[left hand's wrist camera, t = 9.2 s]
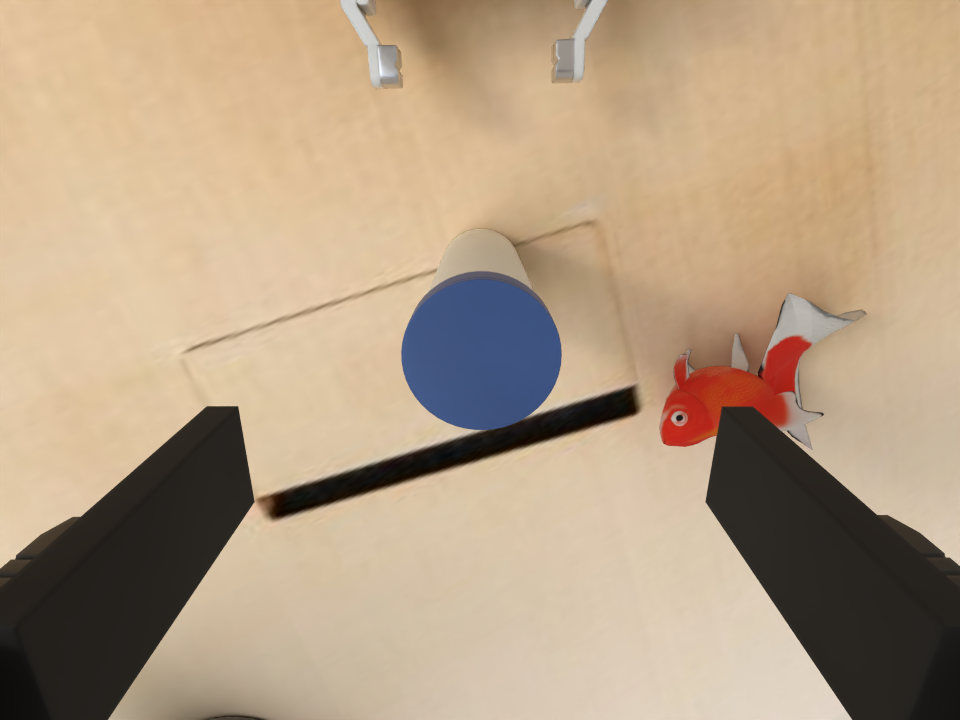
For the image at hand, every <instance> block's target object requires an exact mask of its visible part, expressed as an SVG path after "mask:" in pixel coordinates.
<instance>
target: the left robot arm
mask: <svg viewBox="0 0 960 720" xmlns="http://www.w3.org/2000/svg"><path fill="white" fill-rule="evenodd" d="M253 503H254V496H253V490H252V485H251V479H250V473H249V467H248V461H247V455H246V450H245V444H244V438H243V432H242V426H241V420H240V415H239V409H238V406H207V407H206V408H204V409H203V410H202V411H201V412H200V413H199V414H198V415H196V416H195V417H194V418H193V419H192V420H191V421H190V422H189V423H187V424H186V425H185V426H184V427H183V428H182V429H181V430H179V431H178V432H177V433H176V434H175V435H174V436H173V437H171V438H170V439H169V440H168V441H167V442H166V443H165V444H163V445H162V446H161V447H160V448H159V449H158V450H157V451H155V452H154V453H153V454H152V455H151V456H150V457H149V458H147V459H146V460H145V461H144V462H143V463H142V464H141V465H139V466H138V467H137V468H136V469H135V470H134V471H133V472H131V473H130V474H129V475H128V476H127V477H126V478H125V479H123V480H122V481H121V482H120V483H119V484H118V485H117V486H115V487H114V488H113V489H112V490H111V491H110V492H109V493H108V494H106V495H105V496H104V497H103V498H102V499H101V500H100V501H98V502H97V503H96V504H95V505H94V506H93V507H92V508H90V509H89V510H88V511H87V512H86V513H85V514H84V515H82V516H81V517H72V518H70V519H68V520H67V521H65V522H63V523H61V524H59V525H58V526H56V527H54V528H52V529H50V530H49V531H47V532H45V533H43V534H41V535H40V536H39V537H38V538H36V539H35V540H34V541H33V542H32V543H30V544H29V545H28V546H27V547H26V548H24V549H23V550H22V551H21V552H20V553H18V554H17V555H16V559H15V560H10V561H9V562H8V563H7V564H5V565H4V566H3V567H2V568H1V569H0V720H108V719H109V717H110V716H111V714H112V713H113V711H114V710H115V708H116V707H117V705H118V704H119V702H120V701H121V699H122V698H123V696H124V695H125V693H126V692H127V690H128V689H129V687H130V686H131V684H132V683H133V681H134V680H135V678H136V677H137V675H138V674H139V673H140V671H141V670H142V668H143V667H144V665H145V664H146V662H147V661H148V659H149V658H150V656H151V655H152V653H153V652H154V650H155V649H156V647H157V646H158V644H159V643H160V641H161V640H162V638H163V637H164V635H165V634H166V632H167V631H168V629H169V628H170V626H171V625H172V624H173V622H174V621H175V619H176V618H177V616H178V615H179V613H180V612H181V610H182V609H183V607H184V606H185V604H186V603H187V601H188V600H189V598H190V597H191V595H192V594H193V592H194V591H195V589H196V588H197V586H198V585H199V583H200V582H201V580H202V579H203V577H204V576H205V575H206V573H207V572H208V570H209V569H210V567H211V566H212V564H213V563H214V561H215V560H216V558H217V557H218V555H219V554H220V552H221V551H222V549H223V548H224V546H225V545H226V543H227V542H228V540H229V539H230V537H231V536H232V534H233V533H234V531H235V530H236V529H237V527H238V526H239V524H240V523H241V521H242V520H243V518H244V517H245V515H246V514H247V512H248V511H249V509H250V508H251V506H252V505H253ZM706 503H707V505H708V506H709V508H710V509H711V511H712V512H713V514H714V515H715V517H716V518H717V520H718V521H719V523H720V524H721V526H722V527H723V529H724V530H725V531H726V533H727V534H728V536H729V537H730V539H731V540H732V542H733V543H734V545H735V546H736V548H737V549H738V551H739V552H740V554H741V555H742V557H743V558H744V560H745V561H746V563H747V564H748V566H749V567H750V569H751V570H752V572H753V573H754V575H755V576H756V577H757V579H758V580H759V582H760V583H761V585H762V586H763V588H764V589H765V591H766V592H767V594H768V595H769V597H770V598H771V600H772V601H773V603H774V604H775V606H776V607H777V609H778V610H779V612H780V613H781V615H782V616H783V618H784V619H785V621H786V622H787V624H788V625H789V626H790V628H791V629H792V631H793V632H794V634H795V635H796V637H797V638H798V640H799V641H800V643H801V644H802V646H803V647H804V649H805V650H806V652H807V653H808V655H809V656H810V658H811V659H812V661H813V662H814V664H815V665H816V667H817V668H818V670H819V671H820V673H821V674H822V675H823V677H824V678H825V680H826V681H827V683H828V684H829V686H830V687H831V689H832V690H833V692H834V693H835V695H836V696H837V698H838V699H839V701H840V702H841V704H842V705H843V707H844V708H845V710H846V711H847V713H848V714H849V716H850V717H851V718H852V720H960V566H959V565H958V564H957V563H955V562H954V561H953V560H952V559H951V558H946V557H945V553H943V552H942V551H941V550H940V549H939V548H937V547H936V546H935V545H934V544H933V543H931V542H930V541H929V540H928V539H927V538H925V537H924V536H923V535H922V534H921V533H919V532H917V531H916V530H914V529H912V528H910V527H908V526H906V525H905V524H903V523H901V522H899V521H897V520H896V519H894V518H892V517H890V516H888V515H876V514H875V513H874V512H873V511H872V510H871V509H870V508H868V507H867V506H866V505H865V504H864V503H863V502H862V501H860V500H859V499H858V498H857V497H856V496H855V495H854V494H852V493H851V492H850V491H849V490H848V489H847V488H846V487H845V486H843V485H842V484H841V483H840V482H839V481H838V480H837V479H835V478H834V477H833V476H832V475H831V474H830V473H829V472H827V471H826V470H825V469H824V468H823V467H822V466H821V465H819V464H818V463H817V462H816V461H815V460H814V459H813V458H811V457H810V456H809V455H808V454H807V453H806V452H805V451H803V450H802V449H801V448H800V447H799V446H798V445H797V444H795V443H794V442H793V441H792V440H791V439H790V438H789V437H787V436H786V435H785V434H784V433H783V432H782V431H781V430H779V429H778V428H777V427H776V426H775V425H774V424H773V423H771V422H770V421H769V420H768V419H767V418H766V417H765V416H764V415H762V414H761V413H760V412H759V411H758V410H757V409H756V408H754V407H753V406H722V409H721V415H720V420H719V426H718V432H717V438H716V444H715V450H714V455H713V461H712V467H711V473H710V479H709V485H708V490H707V496H706ZM208 720H256V719H251V718H244V717H219V718H213V719H208Z"/></svg>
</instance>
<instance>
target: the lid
mask: <svg viewBox="0 0 960 720" xmlns="http://www.w3.org/2000/svg"><path fill="white" fill-rule="evenodd" d="M401 354H402V366H403V372H404V375H405V378H406V381H407V383H408V385H409V387H410V389H411V391H412V393H413V394H414V396H415V397H416V398H417V400H418V401H419V402H420V403H421V404H422V405H423V406H424V407H425V408H426V409H427V410H428V411H429V412H430V413H432V414H433V415H435V416H436V417H437V418H439V419H441V420H443V421H445V422H447V423H449V424H452V425H455V426H458V427H462V428H466V429H474V430H488V429H496V428H501V427H505V426H508V425H511V424H514V423H516V422H518V421H520V420H522V419H524V418H525V417H527V416H528V415H530V414H531V413H532V412H534V411H535V410H536V409H537V408H538V407H539V406H540V405H541V404H542V403H543V402H544V401H545V400H546V398H547V397H548V395H549V394H550V393H551V391H552V389H553V387H554V385H555V383H556V380H557V378H558V375H559V371H560V366H561V356H562V354H561V343H560V338H559V334H558V331H557V328H556V326H555V323H554V321H553V319H552V317H551V315H550V313H549V311H548V309H547V307H546V306H545V304H544V303H543V301H542V300H541V299H540V298H539V296H538V295H537V294H536V293H535V292H534V291H533V290H531V289H530V288H529V287H528V286H527V285H525V284H523V283H522V282H520V281H518V280H517V279H514V278H512V277H510V276H507V275H504V274H500V273H496V272H489V271H475V272H467V273H463V274H459V275H456V276H453V277H451V278H448V279H446V280H445V281H443V282H441V283H439V284H438V285H437V286H435V287H434V288H432V289H431V290H430V291H429V292H428V293H427V294H426V295H425V296H424V297H423V299H422V300H421V301H420V302H419V304H418V305H417V307H416V309H415V311H414V312H413V315H412V317H411V319H410V321H409V323H408V326H407V328H406V331H405V334H404V338H403V342H402V351H401Z"/></svg>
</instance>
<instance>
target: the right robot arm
mask: <svg viewBox="0 0 960 720" xmlns="http://www.w3.org/2000/svg"><path fill="white" fill-rule="evenodd" d="M607 1H608V0H574V7H575V8H576V9H583V8H584V7H585V11H584V13H583V15H582V17H581V19H580V21H579V23H578V25H577V27H576V29H575V31H574V33H573V35H572V37H571V39H565V40H556V41H555V43H554V45H553V46H552V59H551V61H552V63H553V65H554V67H553V69H552V71H551V81H552V83H579V82H580V81H581V80H582V79H583V74H584V57H585V41H586V40H587V38H588V37H589V35H590V33H591V31H592V29H593V27H594V25H595V23H596V22H597V20H598V18H599V16H600V14H601V12H602V10H603V8H604V7H605V5H606V3H607ZM340 2H341V7H342V8H343V10H344V12H345V13H346V15H347V17H348V18H349V20H350V22H351V23H352V25H353V27H354V28H355V30H356V32H357V33H358V35H359V37H360V38H361V40H362V42H363V43H364V45H365V46H366V47H367V48H368V59H369V70H370V79H371V83H372V87H374V88H375V89H393V88H403V75H402V74H401V73H400V69H401V67H402V59H401V52H400V50H398V47H397V46H396V45H382V44H381V43H380V41H379V39H378V37H377V36H376V34H375V32H374V31H373V29H372V27H371V25H370V24H369V22H368V20H367V19H366V15H367V16H375V15H376V14H377V13H376V0H340ZM365 14H366V15H365Z"/></svg>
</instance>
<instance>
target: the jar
mask: <svg viewBox="0 0 960 720" xmlns="http://www.w3.org/2000/svg"><path fill="white" fill-rule="evenodd" d="M475 271H489V272H496V273H500V274H504V275H507V276H510V277H512V278H514V279H517V280H518V281H520V282H522V283H523V284H525V285H527V286H528V287H529V288H530V289H531V290H533V288H532V286H531V283H530V281H529V279H528V277H527V274H526V272H525V270H524V267H523V265H522V263H521V261H520V258H519V256H518V254H517V251H516V250H515V248H514V246H513V245H512V243H511V242H510V241H509V240H508V239H507V238H506V237H504V236H503V235H501V234H500V233H498V232H495V231H493V230H489V229H473V230H469V231H466V232H464V233H462V234H460V235H458V236H457V237H456V238H455V239H454V240H453V241H452V242H451V243H450V244H449V245H448V247H447V248H446V250H445V252H444V255H443V257H442V260H441V262H440V265H439V267H438V269H437V272H436V274H435V277H434V279H433V281H432V284H431V286H430V289H429V291H430V290H431V289H432V288H434V287H435V286H437V285H438V284H439V283H441V282H443V281H445V280H446V279H448V278H451V277H453V276H456V275H459V274H463V273H467V272H475ZM429 291H428V292H429ZM533 291H534V290H533Z"/></svg>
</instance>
